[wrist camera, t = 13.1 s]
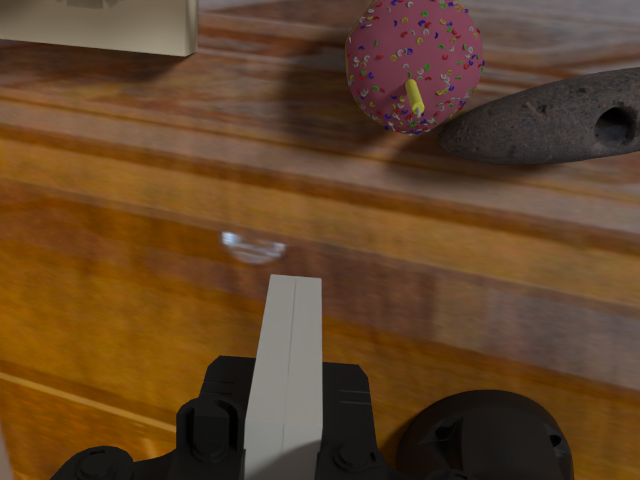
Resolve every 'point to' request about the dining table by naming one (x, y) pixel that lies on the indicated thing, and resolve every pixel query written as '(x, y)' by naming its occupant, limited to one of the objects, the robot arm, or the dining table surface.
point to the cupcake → (413, 62)
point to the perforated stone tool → (553, 122)
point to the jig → (105, 24)
